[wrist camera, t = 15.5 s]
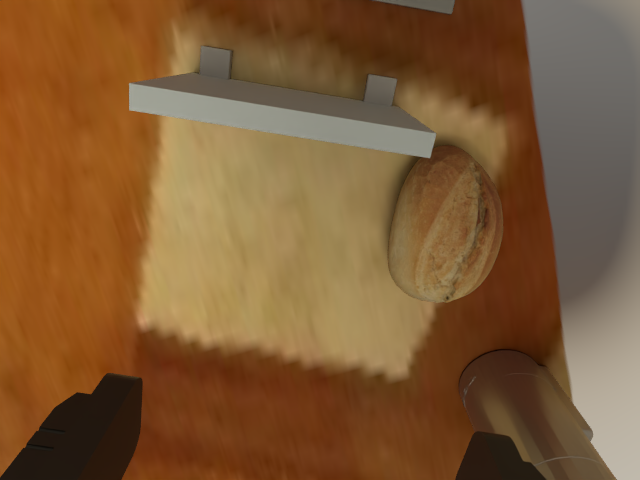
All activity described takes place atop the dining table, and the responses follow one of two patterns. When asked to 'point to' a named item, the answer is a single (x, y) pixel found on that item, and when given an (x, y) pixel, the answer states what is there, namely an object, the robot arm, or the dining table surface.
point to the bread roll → (445, 227)
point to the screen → (284, 108)
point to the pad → (424, 5)
